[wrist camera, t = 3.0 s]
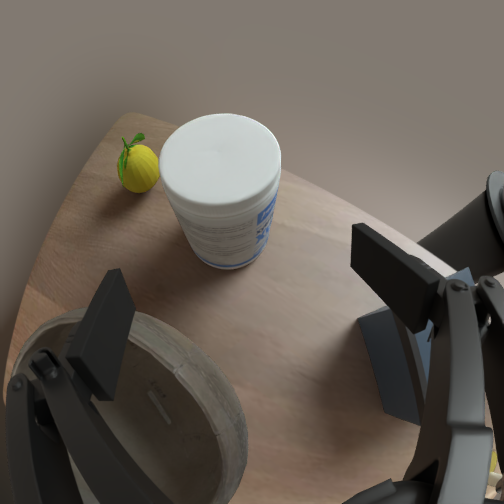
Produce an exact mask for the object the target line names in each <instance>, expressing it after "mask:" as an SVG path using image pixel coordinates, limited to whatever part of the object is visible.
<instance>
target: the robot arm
mask: <svg viewBox="0 0 504 504" xmlns="http://www.w3.org/2000/svg"><path fill="white" fill-rule="evenodd" d="M500 200H501V205H502V209H503V213H504V186H503V187H502V188H501V191H500ZM350 267H351V268H352V269H353V270H354V271H355V272H356V273H357V274H358V275H359V276H360V277H361V278H362V279H363V280H364V281H365V282H366V283H367V284H368V285H369V286H370V287H371V288H372V290H373V291H374V292H375V293H376V294H377V295H378V296H379V297H380V298H381V299H382V300H383V301H384V302H385V303H386V305H387V306H388V307H389V308H390V309H391V310H392V311H393V312H394V313H395V314H396V316H397V317H398V318H399V319H400V320H401V321H402V322H403V323H404V325H405V326H406V327H407V328H408V329H409V330H410V331H411V333H412V334H413V335H414V334H417V333H419V332H421V331H423V330H425V329H426V326H427V323H428V320H430V321H431V322H432V323H433V326H432V329H431V331H430V334H429V337H428V340H427V342H429V340H430V339H431V350H430V365H429V376H428V385H427V393H426V400H425V407H424V413H423V418H422V423H421V428H420V433H419V438H418V442H417V446H416V450H415V454H414V457H413V460H412V462H411V463H410V465H409V467H408V469H407V471H406V473H405V475H404V478H403V481H397V482H392V480H391V478H390V479H388V480H386V481H384V482H382V483H380V484H378V485H376V486H373V487H371V488H369V489H367V490H364V491H362V492H359V493H358V494H356V495H355V496H353V497H352V498H350V499H348V500H347V501H345V502H344V503H342V504H504V289H503V287H502V286H501V284H500V283H499V282H498V281H497V280H496V279H495V278H493V277H491V276H481V277H480V279H479V282H478V285H477V286H470V287H469V285H468V284H467V283H466V282H464V281H462V280H459V279H450V280H447V279H446V278H444V277H443V276H442V275H441V274H439V273H438V272H437V271H435V270H434V269H433V268H431V267H430V266H429V265H427V264H426V263H425V262H423V261H422V260H421V259H419V258H417V257H415V256H412V255H409V254H407V253H406V252H405V251H403V250H402V249H400V248H399V247H398V246H396V245H395V244H393V243H392V242H391V241H389V240H388V239H386V238H385V237H383V236H382V235H381V234H379V233H378V232H376V231H375V230H373V229H372V228H370V227H369V226H367V225H366V224H364V223H359V224H353V225H352V243H351V264H350ZM135 310H136V307H135V305H134V303H133V300H132V298H131V295H130V293H129V291H128V288H127V285H126V283H125V280H124V278H123V275H122V272H121V270H120V268H118V269H113V270H108V272H107V273H106V275H105V277H104V279H103V280H102V282H101V284H100V286H99V288H98V290H97V291H96V293H95V295H94V297H93V299H92V301H91V303H90V305H89V307H88V309H87V311H86V313H85V315H84V317H83V319H82V321H78V322H77V323H76V324H75V325H74V326H73V327H72V329H71V331H70V333H69V335H68V337H67V339H66V341H65V343H64V345H63V348H62V350H61V352H60V354H59V356H58V358H57V357H56V355H55V354H54V352H53V351H52V350H51V348H48V347H43V348H40V349H38V350H37V351H35V352H34V353H33V354H32V356H31V357H30V359H29V361H28V366H29V368H30V369H31V370H32V372H33V373H34V374H35V375H36V377H37V379H34V380H31V381H30V380H29V379H28V378H27V376H26V375H25V374H23V373H19V374H16V375H15V376H13V377H12V378H11V379H10V381H9V383H8V386H7V395H6V446H7V458H8V467H9V475H10V481H11V487H12V493H13V497H14V502H15V504H84V503H83V500H82V497H81V495H80V492H79V489H78V486H77V483H76V480H75V476H74V473H73V470H72V466H71V463H70V459H69V455H68V452H69V454H70V455H71V457H72V459H73V461H74V463H75V465H76V467H77V468H78V470H79V472H80V474H81V475H82V477H83V479H84V480H85V482H86V484H87V485H88V487H89V488H90V490H91V491H92V493H93V494H94V496H95V497H96V499H97V500H98V502H99V503H100V504H174V503H173V502H172V501H171V500H170V499H169V498H168V497H167V496H166V495H165V494H164V493H163V492H162V491H161V490H160V489H159V488H158V487H157V486H156V485H155V484H154V482H153V481H152V480H151V479H150V478H149V477H148V476H147V475H146V474H145V473H144V471H143V470H142V469H141V468H140V467H139V466H138V464H137V463H136V462H135V461H134V460H133V458H132V457H131V456H130V455H129V453H128V452H127V451H126V450H125V448H124V447H123V446H122V444H121V443H120V442H119V440H118V439H117V438H116V436H115V435H114V434H113V432H112V431H111V429H110V428H109V426H108V425H107V423H106V422H105V421H104V419H103V417H102V416H101V414H100V413H99V411H98V410H97V408H96V407H95V405H94V404H93V403H92V401H91V400H90V399H91V395H92V393H93V395H94V396H95V397H96V398H97V399H98V401H114V396H115V391H116V386H117V382H118V377H119V372H120V368H121V364H122V359H123V355H124V351H125V347H126V343H127V339H128V336H129V332H130V328H131V324H132V321H133V317H134V314H135ZM489 317H491V324H490V325H489V323H488V319H489ZM485 392H486V396H487V400H488V405H489V409H490V414H491V419H492V425H493V430H494V437H495V444H496V451H497V458H498V462H499V466H500V470H501V473H502V478H501V479H500V480H499V481H498V482H497V484H496V492H497V493H502V494H501V498H500V500H494V499H488V498H485V494H486V489H487V484H488V478H489V472H490V466H491V458H492V448H493V431H492V429H491V428H490V427H486V426H485ZM67 450H68V451H67Z"/></svg>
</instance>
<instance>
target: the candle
mask: <svg viewBox="0 0 504 504" xmlns="http://www.w3.org/2000/svg"><path fill="white" fill-rule="evenodd" d="M496 463H497V454H496V453H495V452H492V458H491V466H490V472H489V478H488V484H487V485H490V486H493V487H496V484H497V482H498V481H499V480H500V479H501V478H502V475H501V474H498V473H494V472H493V471H494V469H495V466H496Z"/></svg>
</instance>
